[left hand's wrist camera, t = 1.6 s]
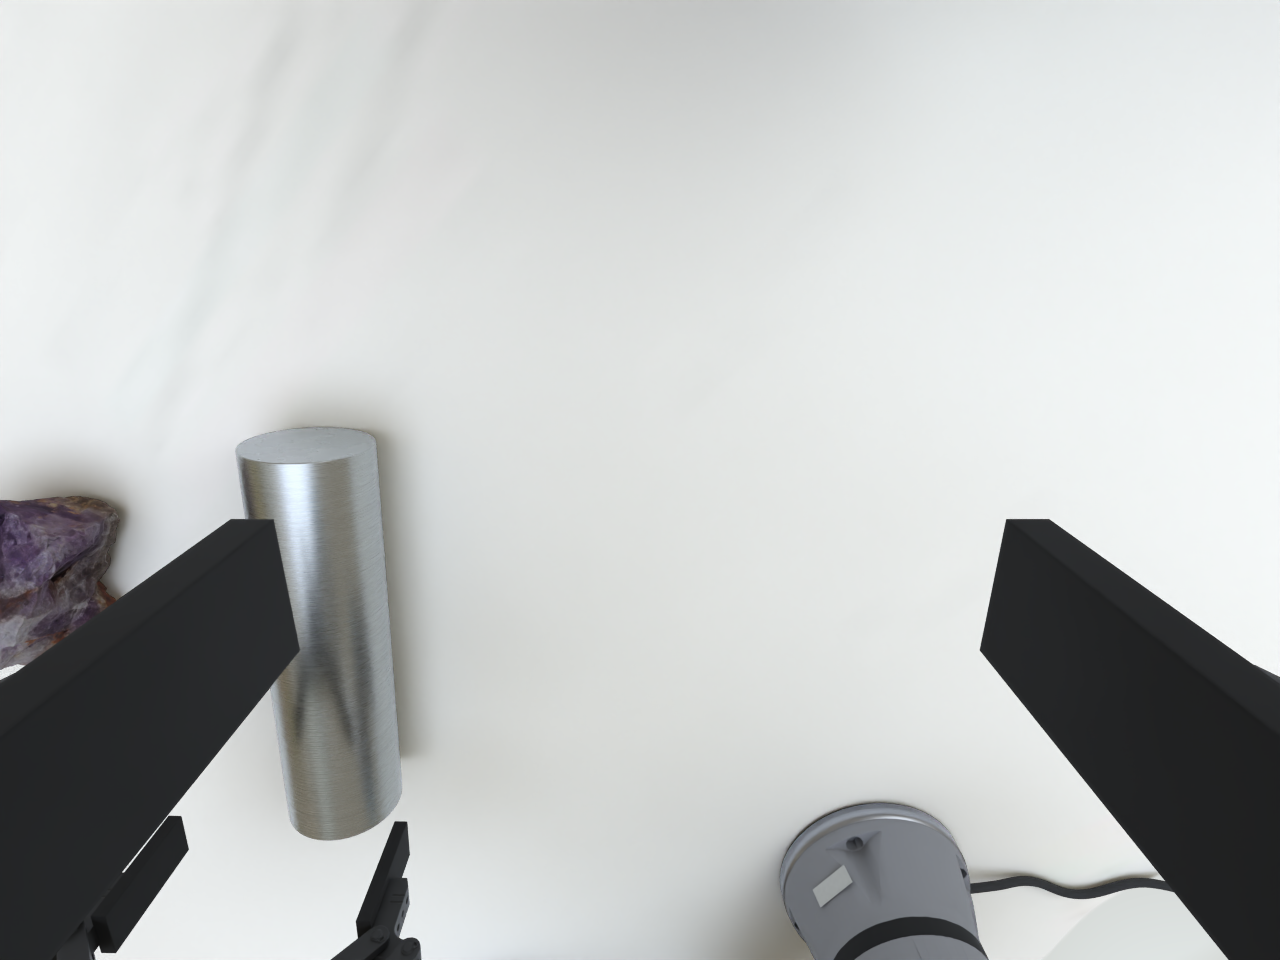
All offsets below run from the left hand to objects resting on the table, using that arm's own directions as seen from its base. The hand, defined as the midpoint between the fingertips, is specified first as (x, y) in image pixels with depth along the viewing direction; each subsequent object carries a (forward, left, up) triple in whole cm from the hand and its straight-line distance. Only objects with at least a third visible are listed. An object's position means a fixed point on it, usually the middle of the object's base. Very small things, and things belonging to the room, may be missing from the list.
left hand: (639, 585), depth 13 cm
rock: (+17, -39, -33) cm, 53 cm away
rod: (+20, -20, -33) cm, 43 cm away
